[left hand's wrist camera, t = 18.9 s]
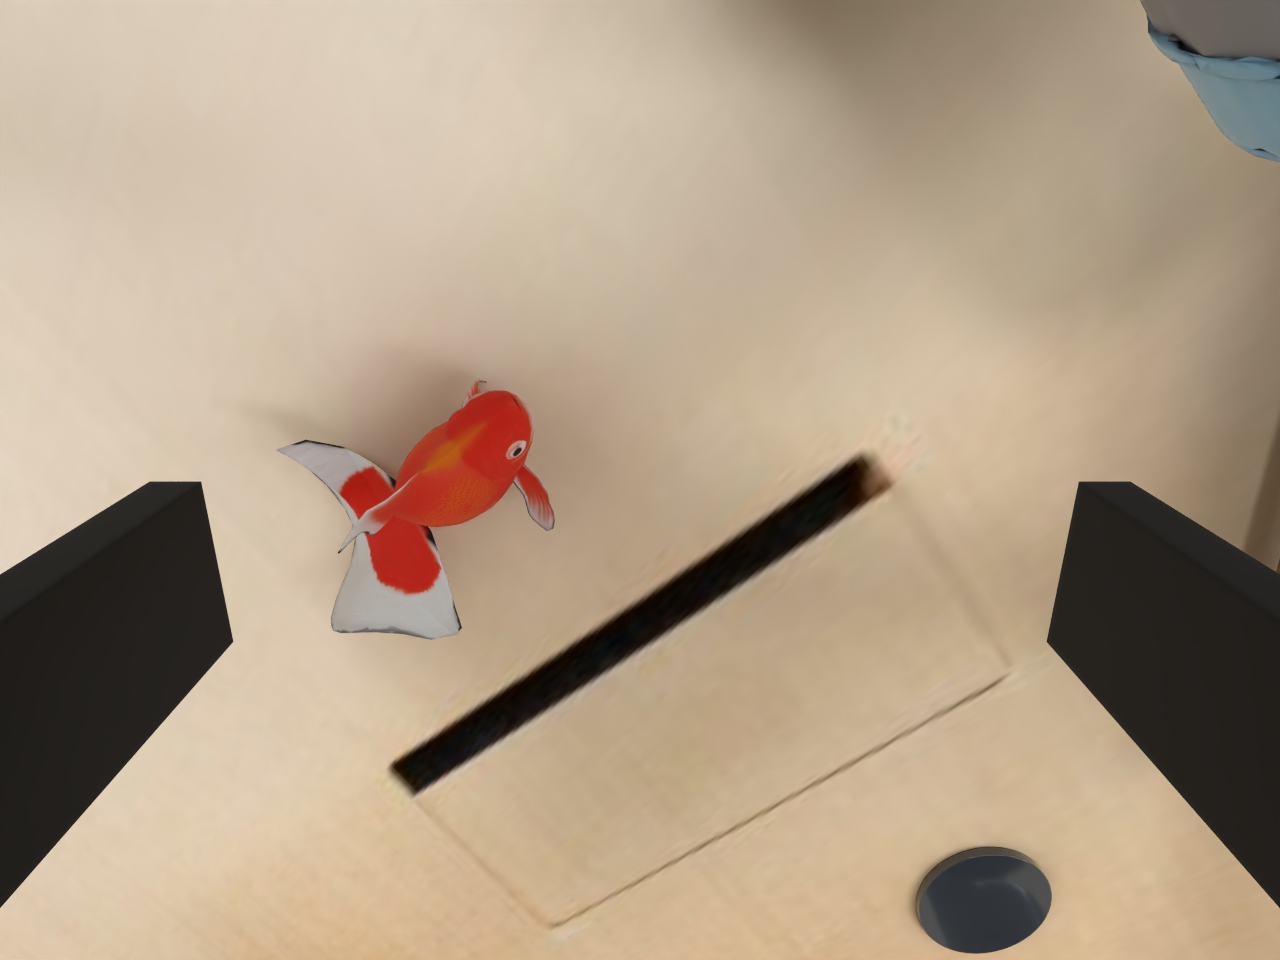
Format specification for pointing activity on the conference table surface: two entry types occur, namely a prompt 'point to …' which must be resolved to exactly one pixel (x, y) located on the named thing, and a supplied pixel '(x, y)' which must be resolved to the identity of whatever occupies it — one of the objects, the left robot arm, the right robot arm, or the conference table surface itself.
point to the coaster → (983, 900)
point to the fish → (423, 511)
